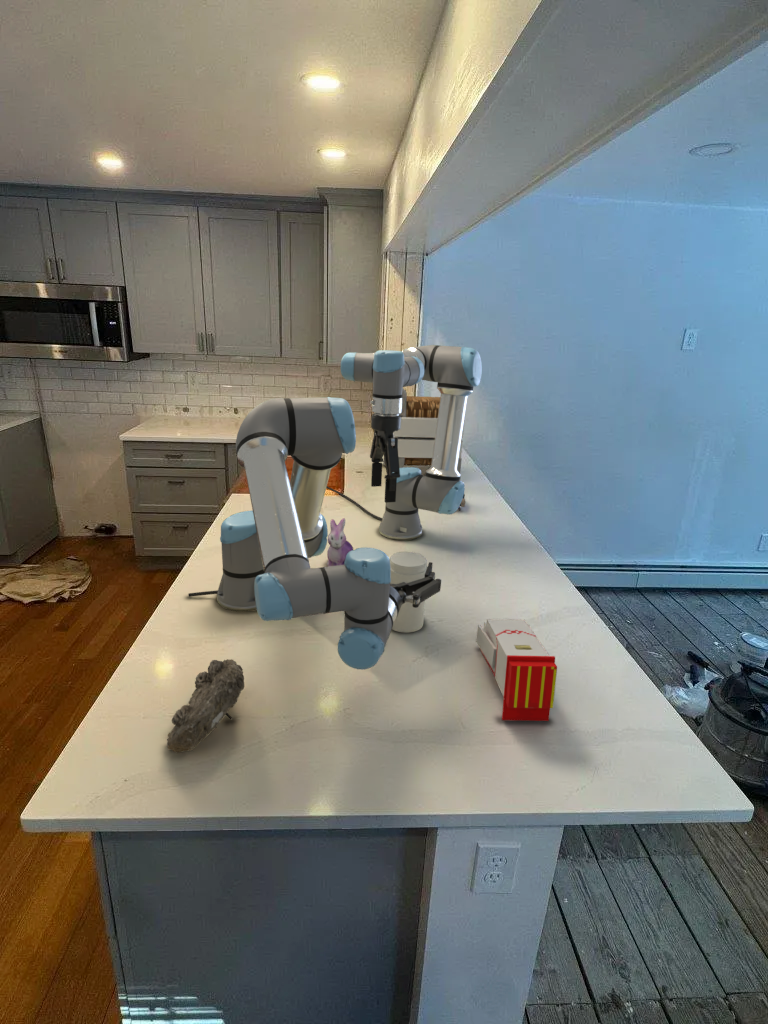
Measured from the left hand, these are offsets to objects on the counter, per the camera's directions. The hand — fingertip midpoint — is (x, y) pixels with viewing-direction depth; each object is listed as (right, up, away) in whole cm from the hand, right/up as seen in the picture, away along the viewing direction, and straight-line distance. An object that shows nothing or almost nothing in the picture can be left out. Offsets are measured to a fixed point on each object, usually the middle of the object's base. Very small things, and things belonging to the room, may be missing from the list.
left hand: (400, 563), depth 127 cm
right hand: (-4, +16, +24) cm, 29 cm away
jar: (+1, -16, +17) cm, 24 cm away
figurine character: (+25, +14, +103) cm, 107 cm away
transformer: (+14, +30, +148) cm, 152 cm away
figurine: (-17, -5, +46) cm, 50 cm away
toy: (+23, -25, -3) cm, 34 cm away
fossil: (-36, -28, -19) cm, 49 cm away
